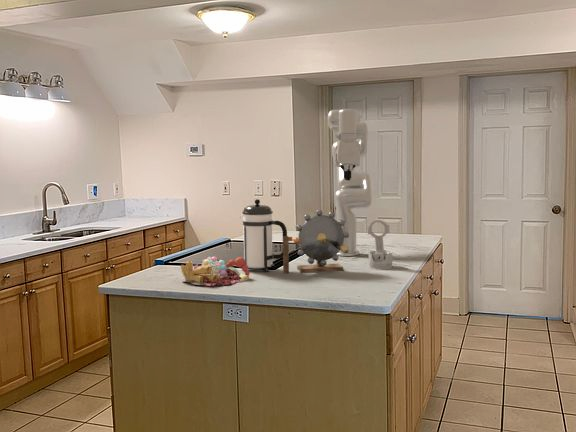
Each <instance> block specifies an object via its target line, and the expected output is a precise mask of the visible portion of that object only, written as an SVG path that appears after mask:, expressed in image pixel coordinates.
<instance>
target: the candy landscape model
mask: <svg viewBox="0 0 576 432" xmlns="http://www.w3.org/2000/svg"><path fill="white" fill-rule="evenodd" d="M234 266H236V267H234ZM238 268H241V271H243V272H244V274H242V273H240V272H239V270H238ZM180 270H181V273H182V275H183V277H184V279H182V280H181V281H182V282H183V283H191V284H192V285H198V286H208V287H211V286H217V287H219V286H221V285H224V286H229V285H233V284H235V283H242V282H245V281H249V279H250V271H249V269H248V266H247V265H245V260H244V257H242V256H240V257H237V258H235V260H234V259H230V260H228V262H227V263H226V261H225V260H223V259H220V260H219V258H218V257H217V256H212V257H211V256H207V258H205V259H202V260H201V265H199V264H198V262H197V263H196V264H195V265H194V263H193V261H192V260H186V261H185V265H184V264H180ZM245 271H246V272H245Z"/></svg>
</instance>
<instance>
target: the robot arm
mask: <svg viewBox="0 0 576 432" xmlns="http://www.w3.org/2000/svg"><path fill="white" fill-rule="evenodd" d="M327 125H328V128H329V129H330V130H331V131H333V132H336V133H337V135H335V139H337V141H335V142H334V143H333V144H332V146H331V155H332V159H333V163H334V165H335V167H336V171H337V173H336V174H337V177H336V179H337V180H336V181H337V186H338V187H337V188H338V189H337V190H336V191H335V193H334V205H335V211H336V212H335V217H336V221H337V222H338V221H339V220H343V221H344V222H345V224H344V226H341V227H342V229H343V232H347V233H348V234H349V237H348V238H344V242H343V244H344V245H345V246H347V247H348V248H349V252H348V253H344V252H342V251H339V252H338V253H337V254H336V255H337V256H338V257H354V256H355V257H356V256H359V255H360V251H359V250H357V217H356V214H355V213H354V212H353V211H352V209H353V210H354V209H355V210H356V209H368V208H370V207H371V206H372V201H373V200H372V185H371V182H372V181H371V177H370V174H368V173H367V172H364V171H355V168H357V167H358V168H359V167H360V163H361V158H364V157H366V155H367V153H368V139H369V138H368V137H369V136H368V135H369V133H368V125H367V123H366V122H365V121H363V120H362V121H361V115H360V113H359V111H358V110H357V109H353V108H342V109H331V110H330V111H329V112H328V115H327Z"/></svg>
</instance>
